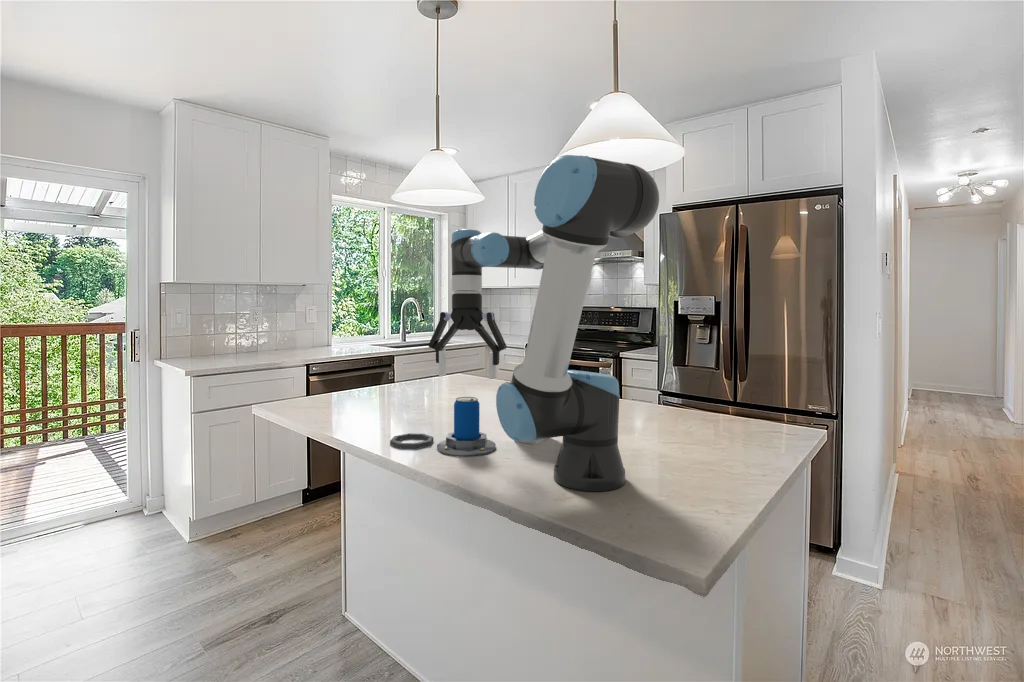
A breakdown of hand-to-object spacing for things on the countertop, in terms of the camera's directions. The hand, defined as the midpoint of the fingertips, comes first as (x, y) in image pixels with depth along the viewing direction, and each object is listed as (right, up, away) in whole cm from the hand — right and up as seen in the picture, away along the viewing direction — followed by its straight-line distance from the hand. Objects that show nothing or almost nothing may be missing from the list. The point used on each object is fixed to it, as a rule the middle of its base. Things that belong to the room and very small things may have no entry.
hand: (467, 377), depth 135 cm
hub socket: (0, -18, +2) cm, 18 cm away
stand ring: (-15, -18, +6) cm, 24 cm away
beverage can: (0, -18, +2) cm, 18 cm away
